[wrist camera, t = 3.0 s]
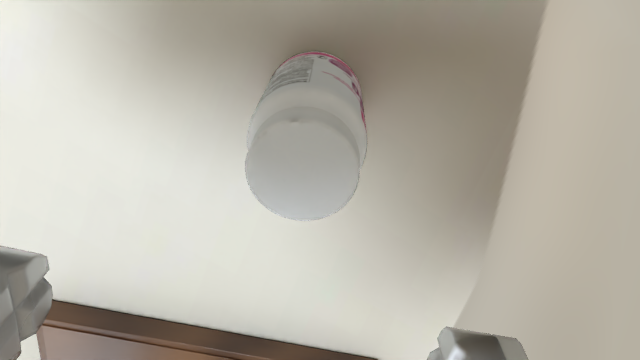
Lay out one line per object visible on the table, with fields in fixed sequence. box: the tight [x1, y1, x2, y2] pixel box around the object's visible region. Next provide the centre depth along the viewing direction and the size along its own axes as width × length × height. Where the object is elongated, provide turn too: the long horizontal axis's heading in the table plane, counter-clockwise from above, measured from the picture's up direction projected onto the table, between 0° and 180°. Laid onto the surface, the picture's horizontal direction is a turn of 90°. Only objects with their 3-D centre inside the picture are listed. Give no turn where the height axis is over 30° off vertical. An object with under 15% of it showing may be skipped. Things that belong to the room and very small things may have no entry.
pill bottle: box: [245, 51, 367, 221], centre depth 19 cm, size 5×5×8 cm
